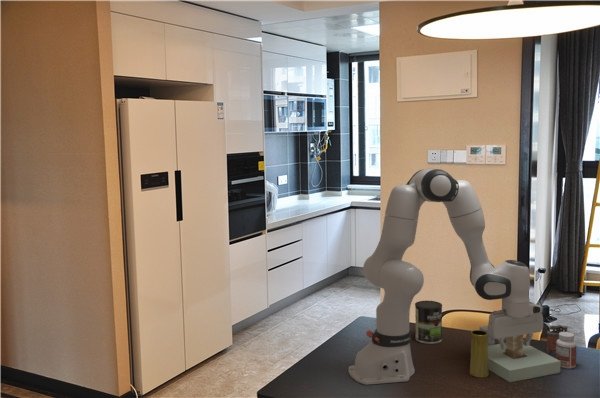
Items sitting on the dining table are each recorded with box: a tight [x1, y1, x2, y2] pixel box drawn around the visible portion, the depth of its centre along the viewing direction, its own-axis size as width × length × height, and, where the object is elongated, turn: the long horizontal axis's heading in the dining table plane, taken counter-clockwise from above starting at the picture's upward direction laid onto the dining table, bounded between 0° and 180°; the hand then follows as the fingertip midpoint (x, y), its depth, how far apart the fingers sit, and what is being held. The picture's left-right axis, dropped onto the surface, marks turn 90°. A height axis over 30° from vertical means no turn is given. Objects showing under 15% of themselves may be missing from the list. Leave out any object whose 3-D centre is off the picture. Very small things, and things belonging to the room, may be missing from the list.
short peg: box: [478, 325, 496, 346], centre depth 214 cm, size 4×4×6 cm
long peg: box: [504, 335, 524, 359], centre depth 192 cm, size 4×4×12 cm
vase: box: [469, 329, 490, 379], centre depth 187 cm, size 6×6×14 cm
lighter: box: [546, 324, 572, 355], centre depth 203 cm, size 8×3×10 cm, turn 84°
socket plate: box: [488, 343, 561, 383], centre depth 193 cm, size 20×20×4 cm
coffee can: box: [414, 300, 443, 345], centre depth 219 cm, size 10×10×14 cm
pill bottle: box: [555, 331, 577, 369], centre depth 191 cm, size 6×6×11 cm
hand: (515, 347), depth 192 cm, fingers open, 8 cm apart
